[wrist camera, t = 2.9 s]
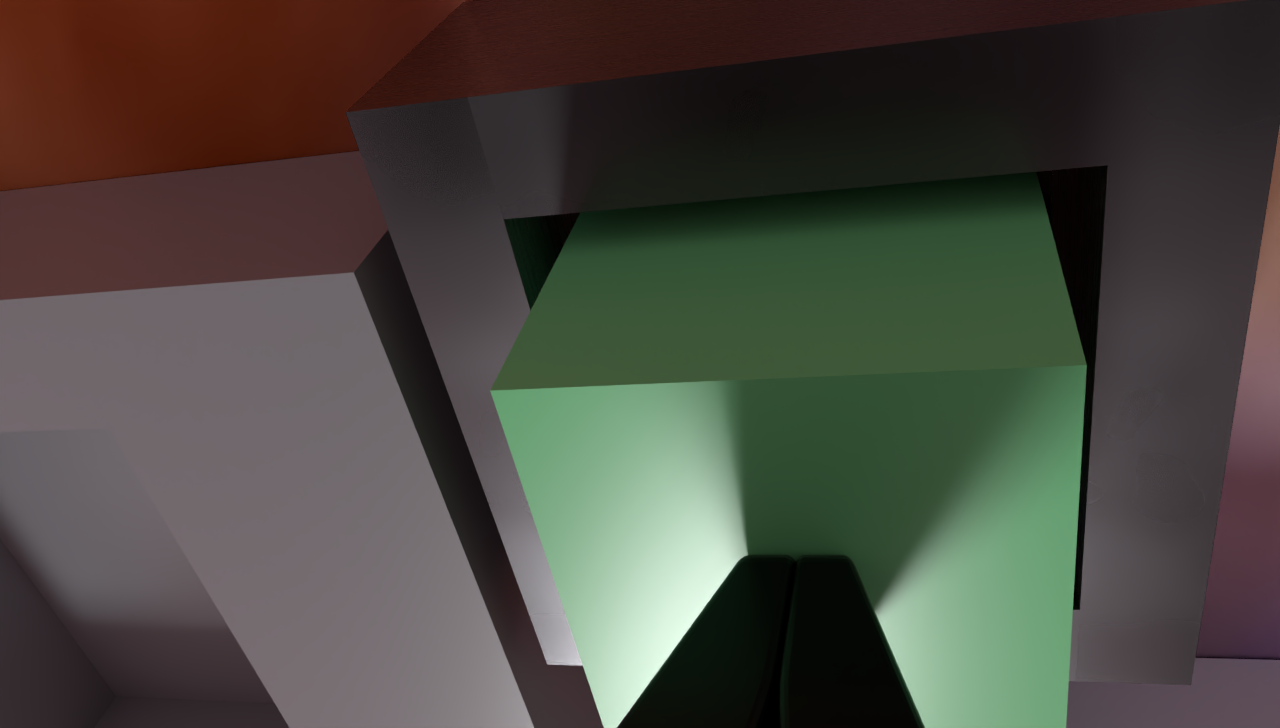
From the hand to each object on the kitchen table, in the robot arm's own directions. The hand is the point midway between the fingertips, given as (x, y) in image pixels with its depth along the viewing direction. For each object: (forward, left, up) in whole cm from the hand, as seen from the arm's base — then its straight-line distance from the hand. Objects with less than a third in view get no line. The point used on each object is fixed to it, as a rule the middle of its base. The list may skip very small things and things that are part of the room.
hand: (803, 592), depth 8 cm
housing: (0, 0, -5) cm, 5 cm away
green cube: (0, 0, -4) cm, 4 cm away
